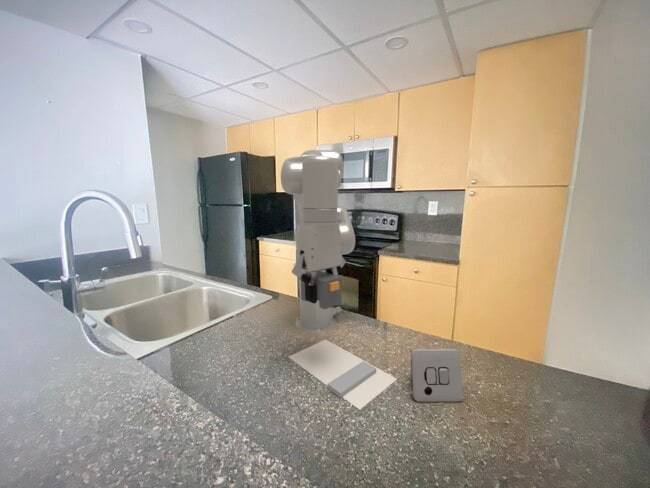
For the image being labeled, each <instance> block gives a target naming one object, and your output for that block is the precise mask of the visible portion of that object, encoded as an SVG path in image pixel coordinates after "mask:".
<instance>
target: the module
mask: <svg viewBox="0 0 650 488" xmlns="http://www.w3.org/2000/svg"><path fill="white" fill-rule="evenodd" d="M310 274H311V273H310ZM310 274H309V278H310ZM314 285H316V287H317V300H318V301H319V307H320V308H322V309H327V308H330V307H332V308H334V307H335V306H336V307H337V306H338V305H340V304H341V305H342V300H343V298H342V297H343V296H342V294H343V293H342V291H343V288H342V285H343V283H342V276H340V275H338V276H337V275H333V274H329V273H326V272H322V271H317V274H316V278H315V283H314ZM301 299H302V300H304V301H306V299H305V284H304V283H303V282H302V281H301Z"/></svg>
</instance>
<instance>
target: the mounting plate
mask: <svg viewBox="0 0 650 488" xmlns="http://www.w3.org/2000/svg"><path fill="white" fill-rule="evenodd" d="M288 359H290V360H291V361H293V362H294V363H295V364H297V365H298V366H300V367H301V368H302V369H304V370H305V371H306V372H308V373H309V374H311V375H312V376H313V377H315V378H316V379H317V380H319V381H320V382H321V383H322V384H324V385H326V387H327V389H328V390H329V391H330V392H332V393H333V394H334V395H336V396H337V397H339V398H340V399H341V398H343V399H344V400H346V401H347V402H348V403H350V404H351V405H353V406H354V407H355V408H356V409H358V410H361V409H363V408H364V407H365V406H367V405H368V404H369V403H370V402H372V400H374V399H375V398H376V397H377V396H379V395H380V394H381V393H382V392H384V391H385V390H386V389H387V388H388V387H390V386H391V385H392V384H393V383H395V382H396V381H397V380H398V378H396V377H395V376H393V375H391V374H389V373H387V372H385V371H383V370H382V369H380V368H378V367H376V366H374V365H372V363H369V362H368V361H366V360H363V359H362V358H360V357H358V356H356V355H354V354H353V353H351V352H349V351H348V350H345V348H342V347H340V346H338V345H336V344H335V343H334V342H331V341H330V340H327V339H324V340H321V341H318V342H317V343H315V344H312V345H310V346H309V347H307V348H304V349H302V350H299V351H298V352H295V353H293V354H291V355H289V356H288Z"/></svg>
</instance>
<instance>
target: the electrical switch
mask: <svg viewBox="0 0 650 488" xmlns="http://www.w3.org/2000/svg"><path fill="white" fill-rule="evenodd" d="M409 352H410V354H409V355H410V372H411V384H412V388H413V389H412V398H413V399H414V401H416V402H418V403H419V402H420V403H422V402H423V403H427V402H428V403H429V402H433V403H434V402H442V403H443V402H462V401H463V399H464V393H463V392H464V391H463V379H462V378H463V377H462V364H461V353H460V351H459V350H457V349H456V348H428V349H427V348H423V349H422V348H417V349H415V348H414V349H410V351H409Z"/></svg>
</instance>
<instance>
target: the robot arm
mask: <svg viewBox="0 0 650 488" xmlns="http://www.w3.org/2000/svg"><path fill="white" fill-rule="evenodd" d="M343 172H344V159H343V156H342V154H341V153H340V152H339V151H338V150H333V149H331V150H330V149H329V150H328V149H326V150H325V149H321V150H320V149H308V150H305V151H304V152H302V153H301V155H299V156H294V157H288V158H286V159H284V162H283V163H282V166H281V169H280V183H281V187H282V189H283V191H284V192H285V193H286V194H287V195H292V196H293V199H294V202H295V204H296V206H297V207H298V209H299V210H298V212H299V216H298V217H299V225H298V227H297V229H296V230H295V233H294V235H295V236H294V237H295V238H294V240H295V245H296V248H295V249H296V250H295V251H296V252H295V265H294V266H293V267H292V270H291V273H292V274H293V275H294V276H295V277H297V278H298V283H299V284H298V286H299V294H298V295H299V317H298V318H296V319H295V322H294V324H295V326H296V327H297V328H298V329H300V330H302V331H306V332H322V331H326V330H327V331H328V330H330V329H331V328H332V329H333V327H334V326H335V325H336V319H335V318H334V317H335V315H337V314H339V313H341V312H342V308H341V307H340V306H336V307H330V308H327V309H322V308H320V307H319V301H318V300H317V287H316V285H314V283H315V278H316V274H317V271H322V272H326V273H329V274H333V275H337V276H339V274H340V272H341V270H342V268H343V267H344V265H346V260H345V258H344V257H343V255H348V254H350V253H352V252H353V251H354V249H355V247H356V235H355V231H354V227H353V224H352V221H351V218H350V214H349V212H348V210H347V209H346V207H345V206H343V205H339V203H338V202H339V188H340V187H341V184H342V175H343ZM310 273H311V274H310ZM309 274H310V278H309ZM301 281H302V282H303V283H304V284H305V299H306V301H304V300H302V299H301Z"/></svg>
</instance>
